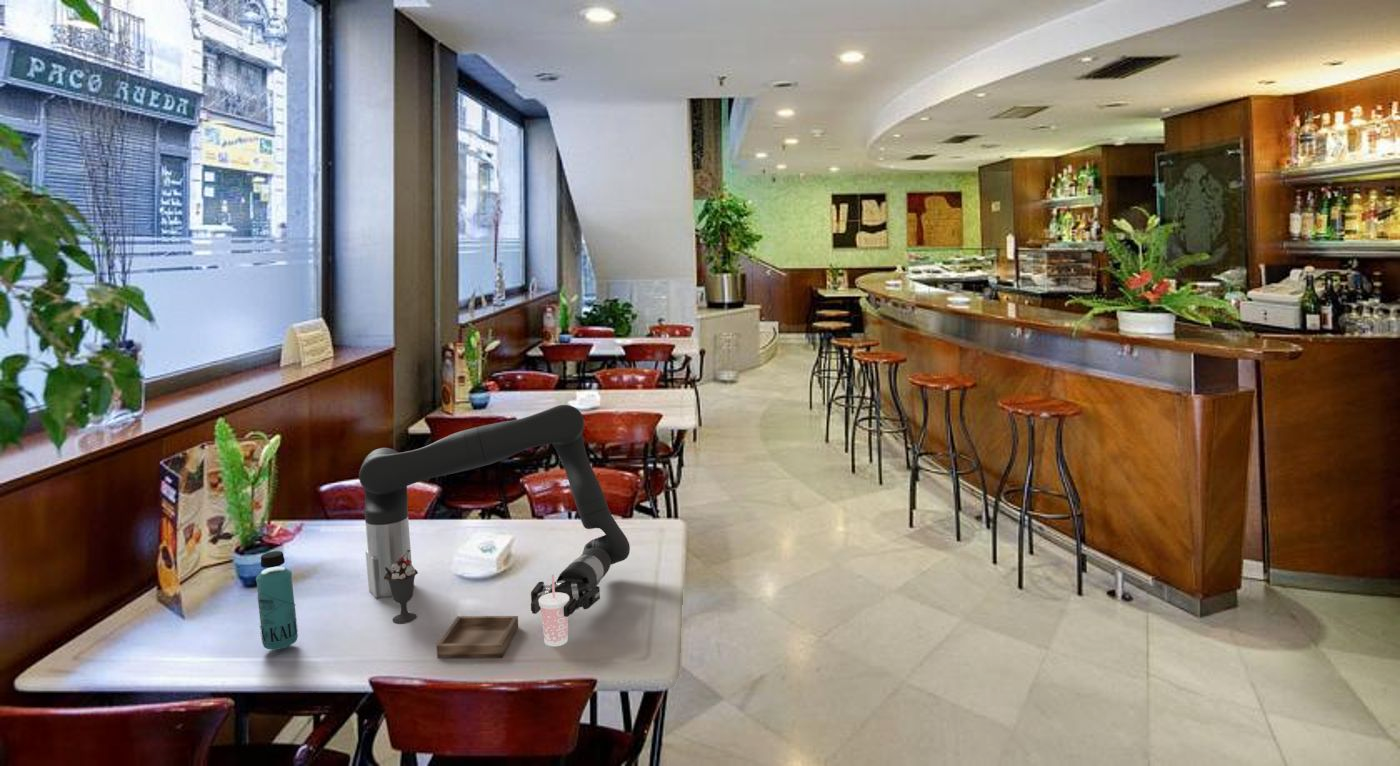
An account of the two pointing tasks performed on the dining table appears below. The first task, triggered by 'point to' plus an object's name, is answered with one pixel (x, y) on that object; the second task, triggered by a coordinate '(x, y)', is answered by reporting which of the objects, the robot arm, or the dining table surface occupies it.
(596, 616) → the dining table surface
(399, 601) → the sundae
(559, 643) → the beverage cup
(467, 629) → the walnut tray
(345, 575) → the dining table surface
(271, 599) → the beverage bottle
